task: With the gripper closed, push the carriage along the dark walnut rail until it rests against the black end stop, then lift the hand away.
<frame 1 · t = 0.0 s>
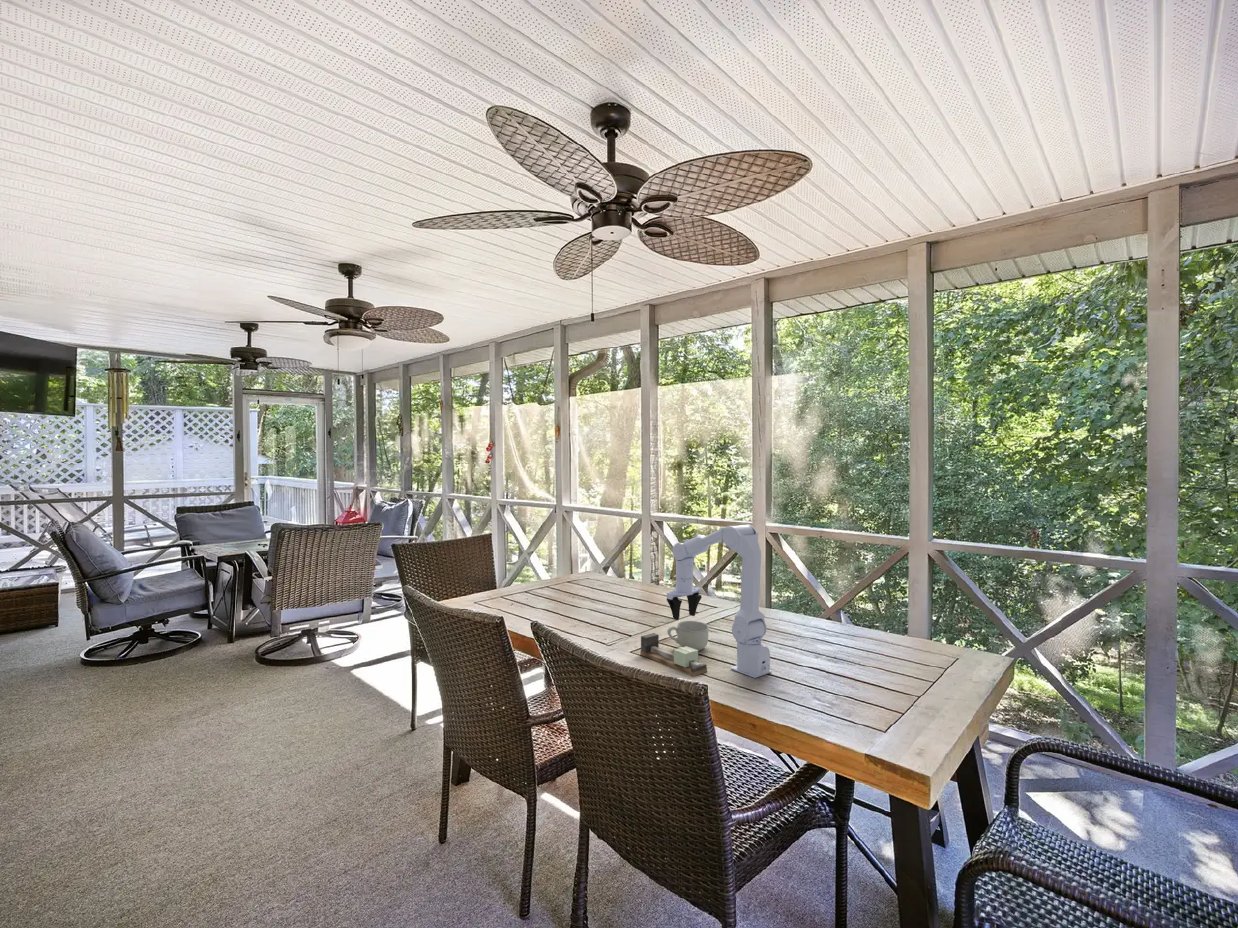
hand: (684, 617, 198), 10 cm above the table, fingers open, 7 cm apart
teacup: (688, 648, 197), on the table
carriage: (685, 656, 178), point 4 cm above the table, slide at 0.0 cm
rail: (672, 662, 182), on the table
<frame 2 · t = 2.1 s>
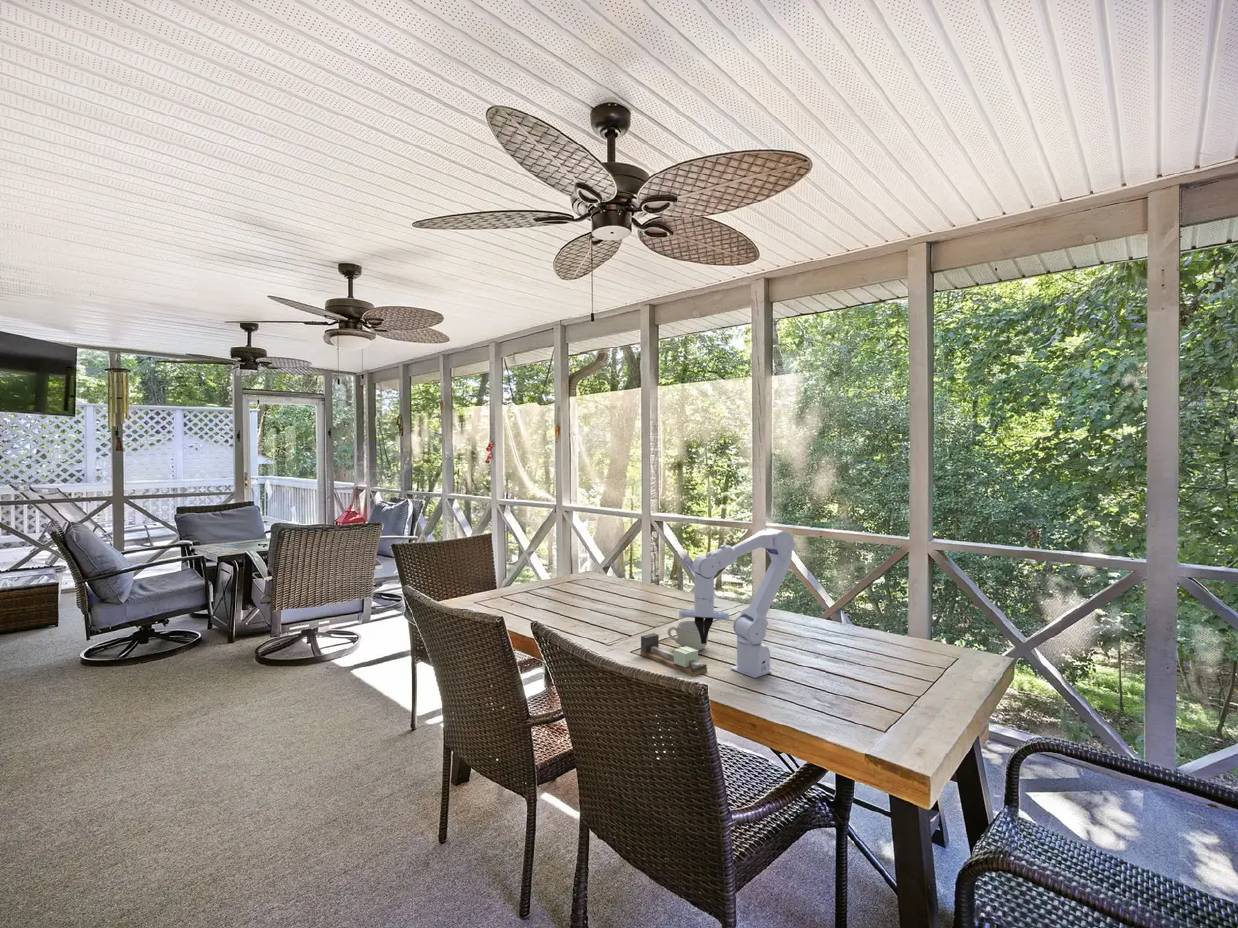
hand: (703, 642, 172), 10 cm above the table, fingers closed
nothing on the table moved.
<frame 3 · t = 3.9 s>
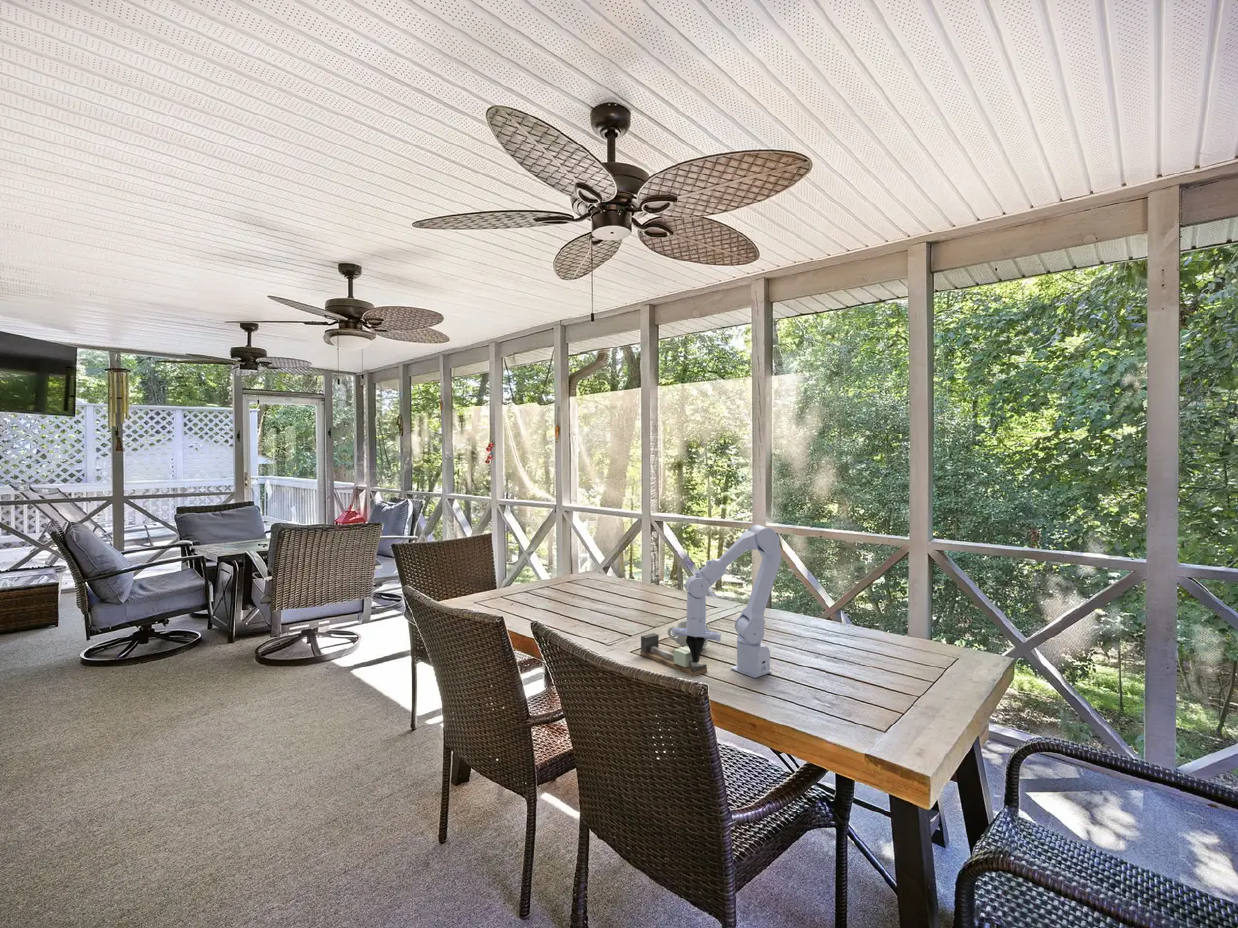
hand: (695, 661, 174), 3 cm above the table, fingers closed
carriage: (685, 656, 178), point 4 cm above the table, slide at 0.1 cm, touching gripper
everything else where it was.
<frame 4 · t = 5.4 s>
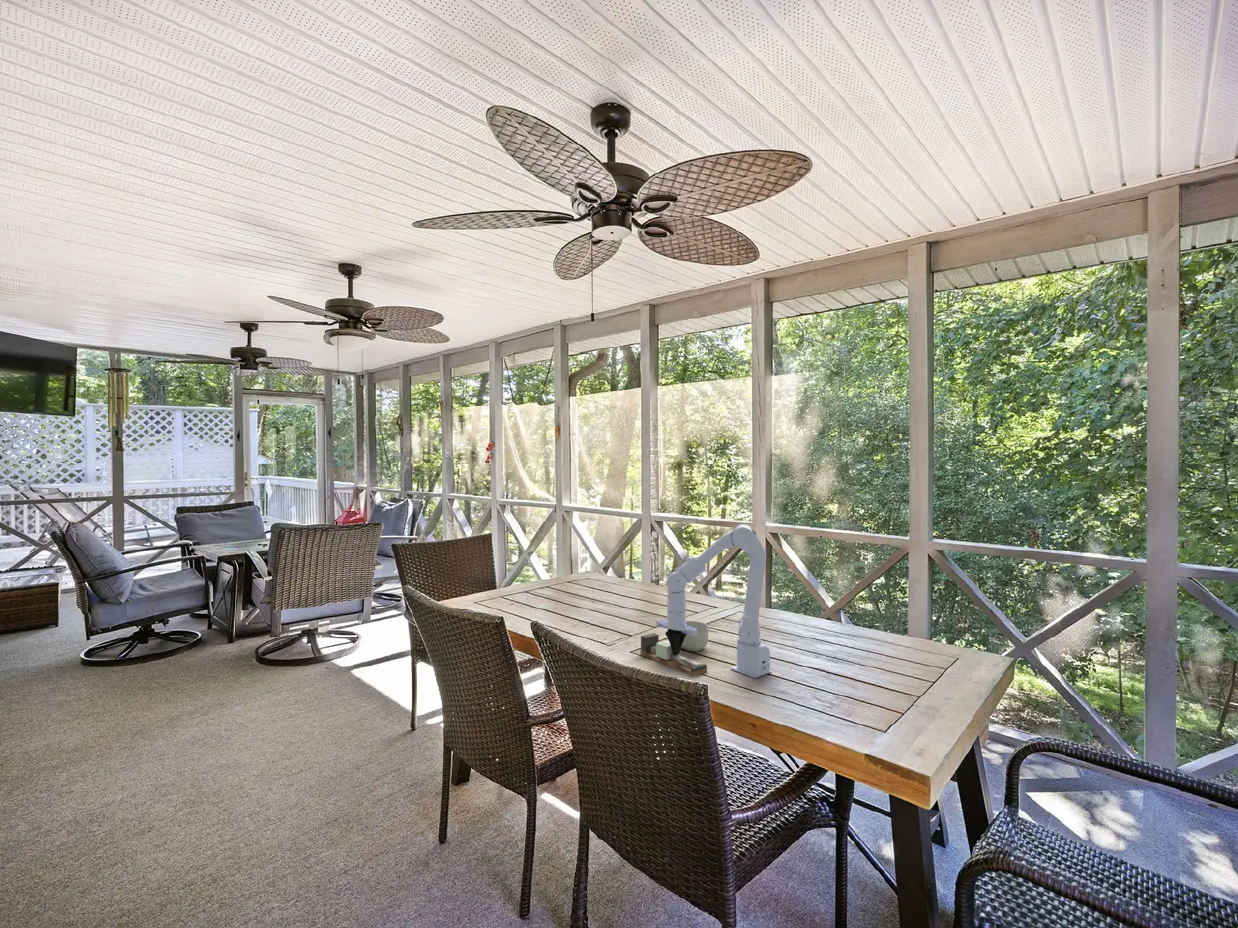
hand: (676, 653, 181), 3 cm above the table, fingers closed
carriage: (667, 649, 184), point 4 cm above the table, slide at 8.3 cm, touching gripper
everything else where it was.
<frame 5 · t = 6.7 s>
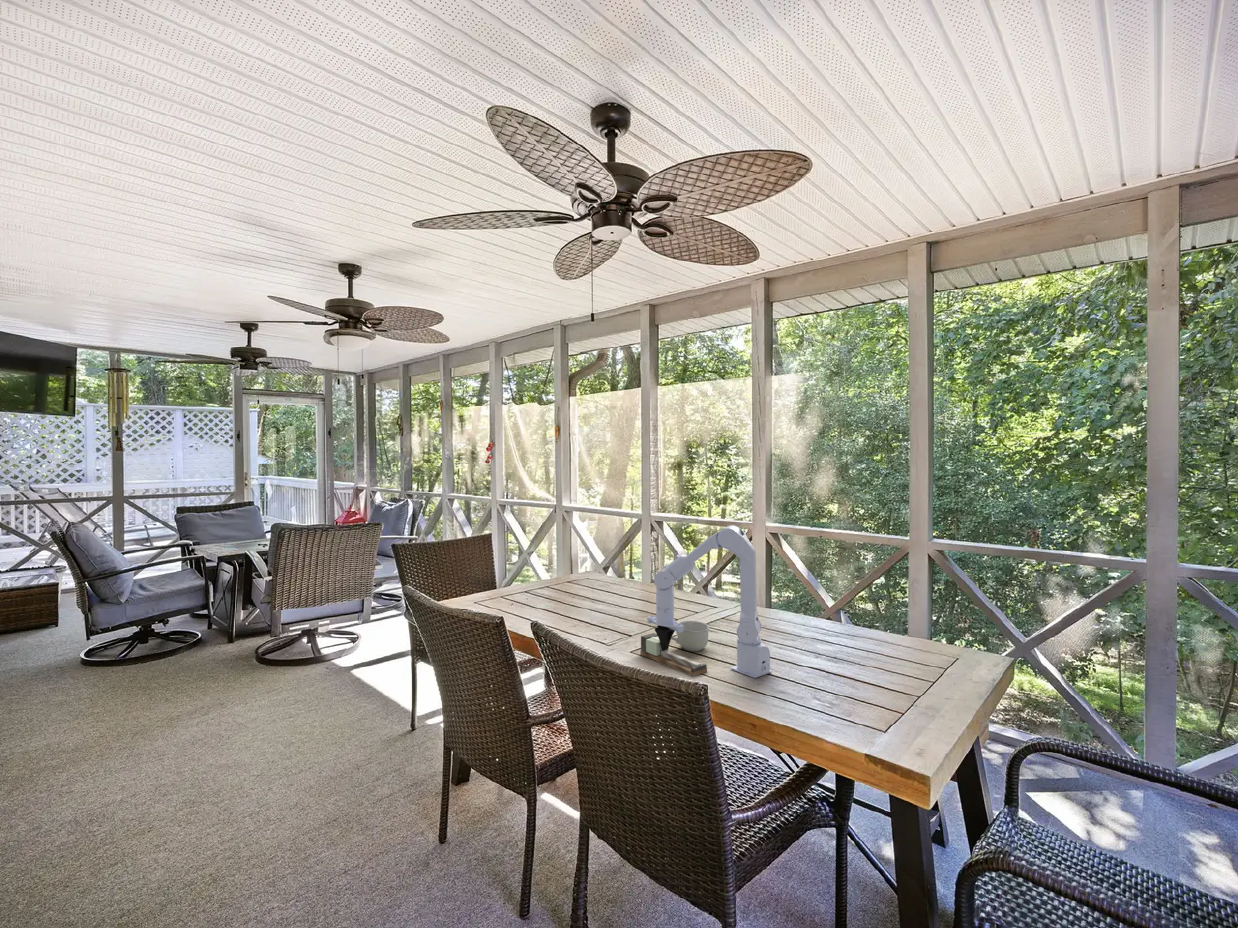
hand: (664, 649, 185), 3 cm above the table, fingers closed
carriage: (657, 645, 188), point 4 cm above the table, slide at 13.1 cm, touching gripper
everything else where it was.
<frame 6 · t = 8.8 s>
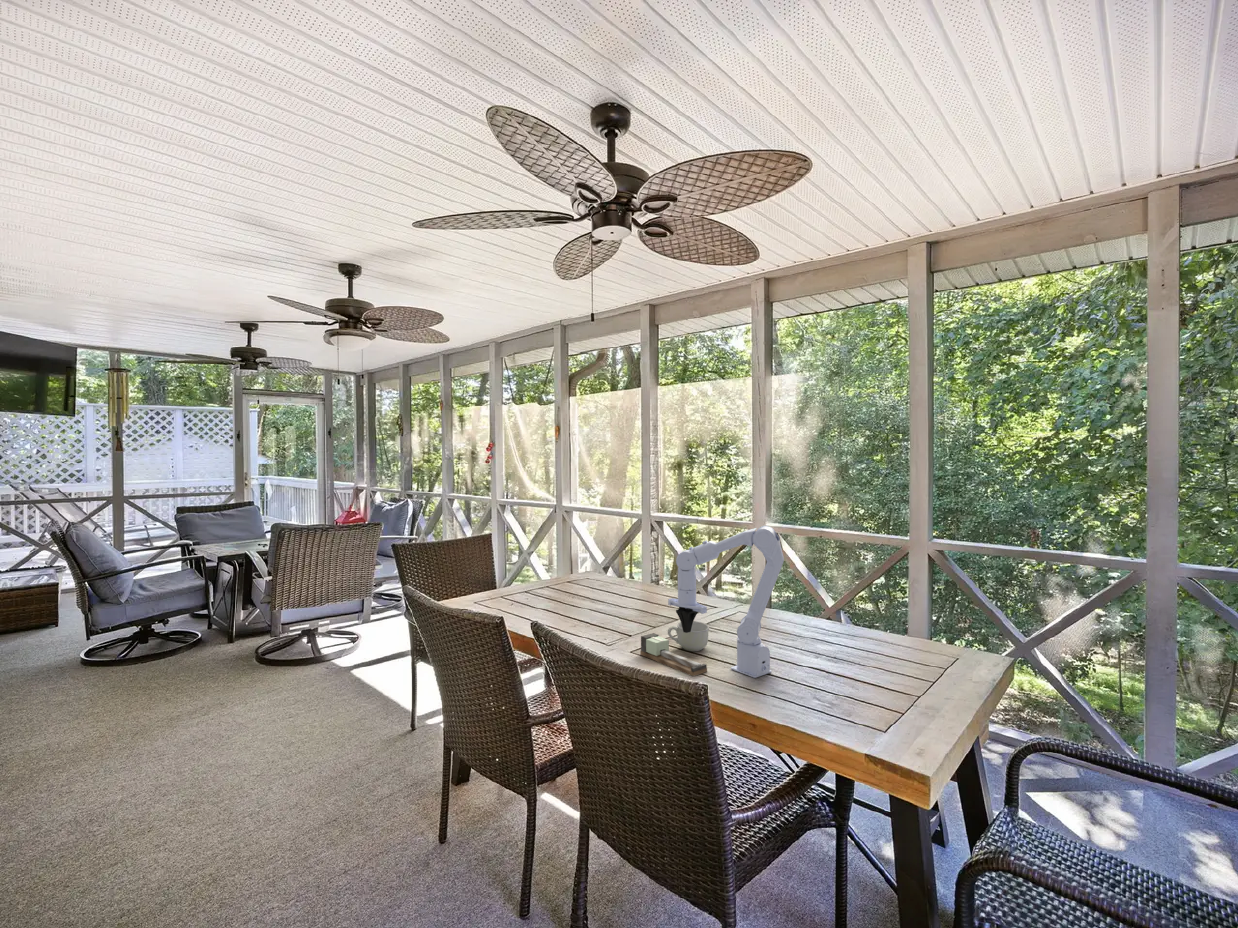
hand: (687, 631, 182), 10 cm above the table, fingers closed
carriage: (657, 645, 188), point 4 cm above the table, slide at 13.0 cm
everything else where it was.
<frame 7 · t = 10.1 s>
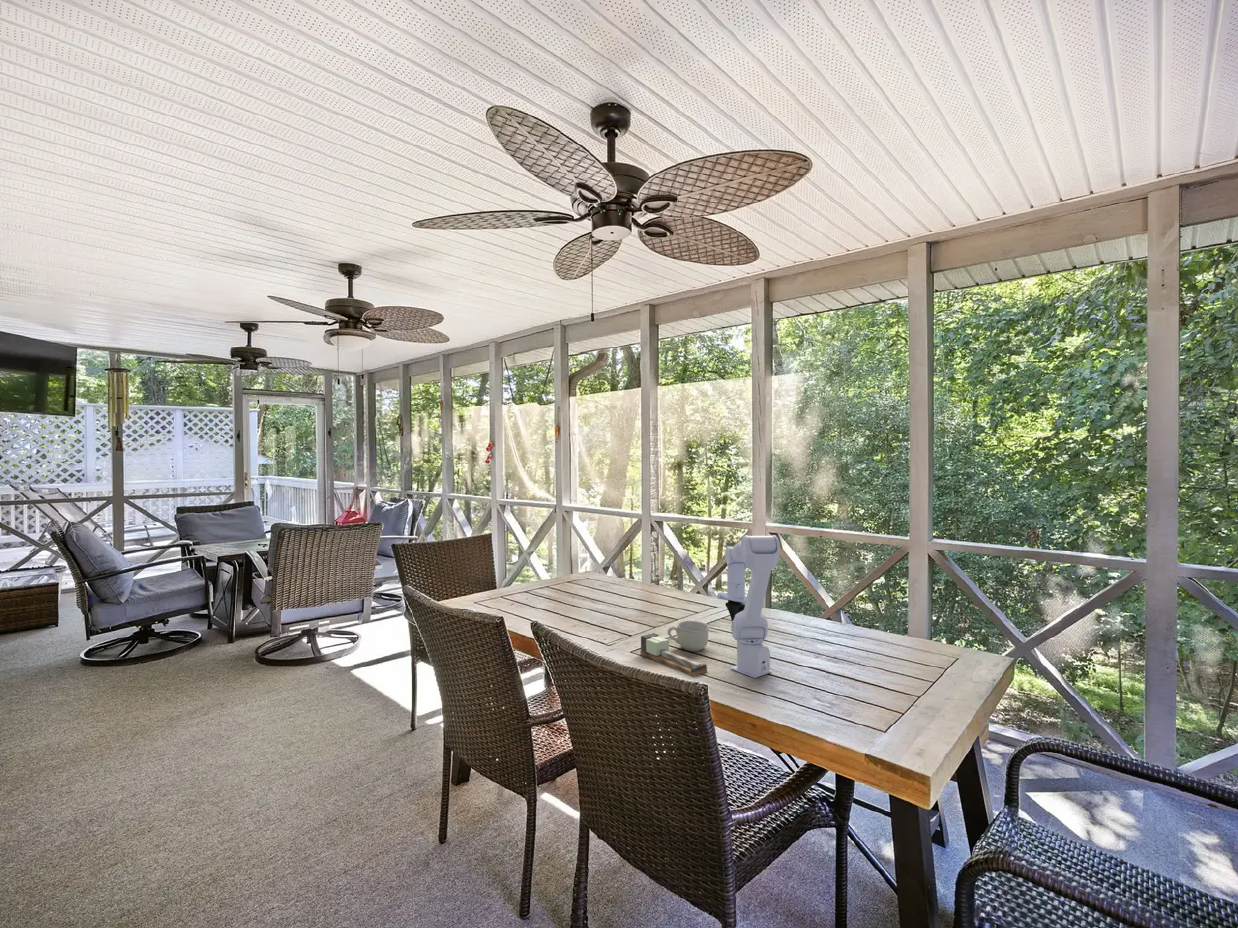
hand: (735, 624, 190), 10 cm above the table, fingers closed
nothing on the table moved.
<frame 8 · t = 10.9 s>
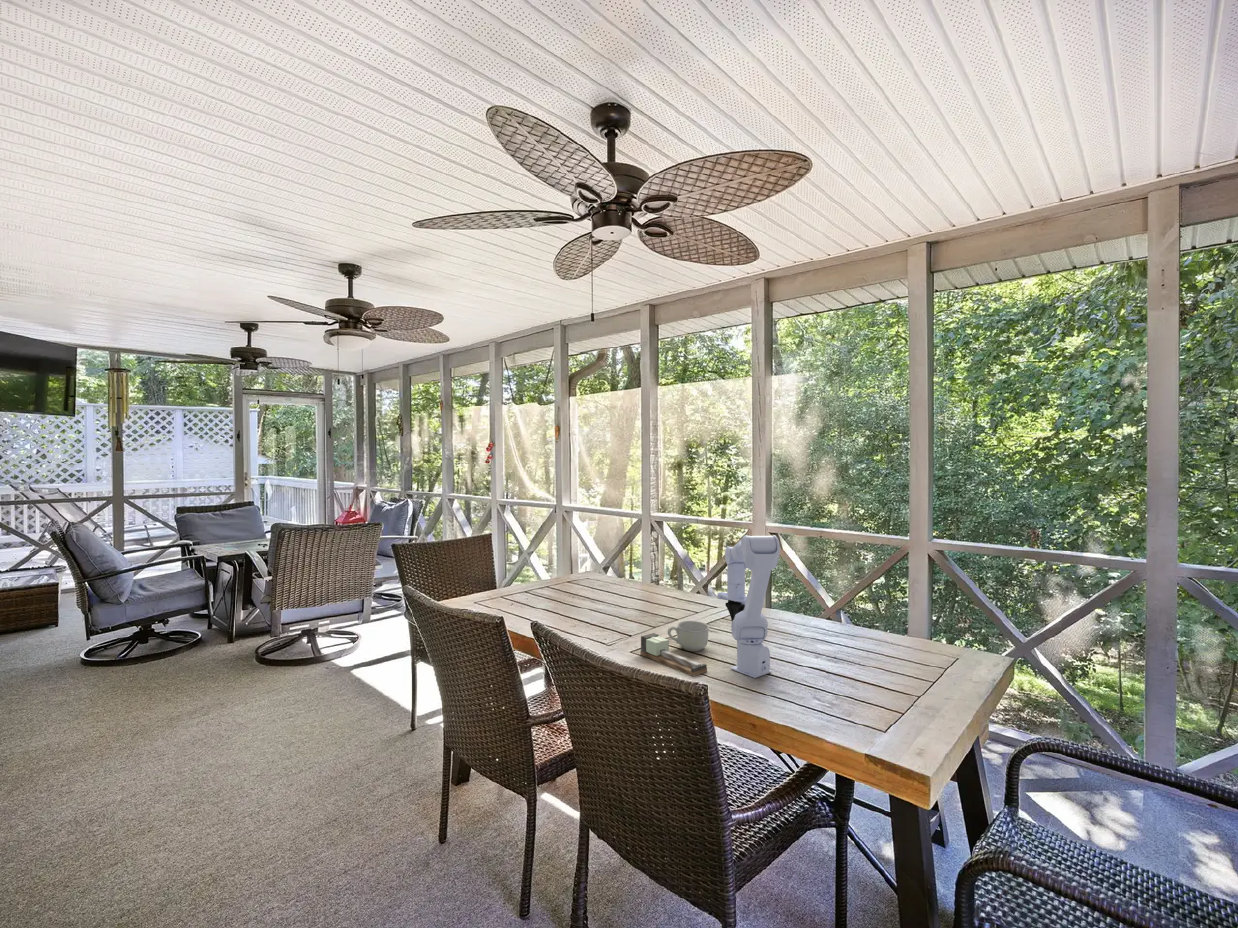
hand: (735, 624, 190), 10 cm above the table, fingers closed
nothing on the table moved.
at the end: carriage slide at 13.0 cm; carriage touching nothing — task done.
